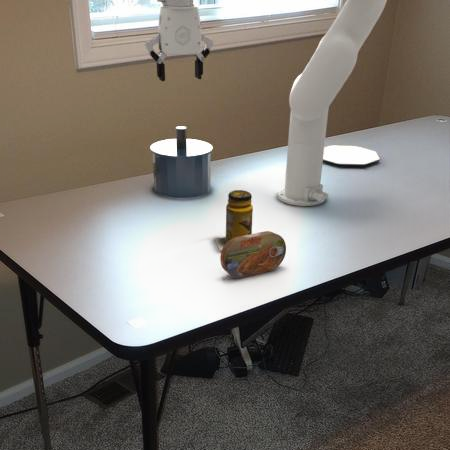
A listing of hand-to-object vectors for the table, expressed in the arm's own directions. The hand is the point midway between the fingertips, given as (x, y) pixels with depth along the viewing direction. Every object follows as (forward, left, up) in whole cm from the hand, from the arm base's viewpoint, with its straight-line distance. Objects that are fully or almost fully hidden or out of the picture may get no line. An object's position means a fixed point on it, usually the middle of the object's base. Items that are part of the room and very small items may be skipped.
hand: (180, 79), depth 165 cm
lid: (0, 0, -17) cm, 17 cm away
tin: (-52, +17, -28) cm, 62 cm away
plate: (-5, -60, -28) cm, 67 cm away
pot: (0, 0, -28) cm, 28 cm away
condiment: (-38, +11, -28) cm, 49 cm away
